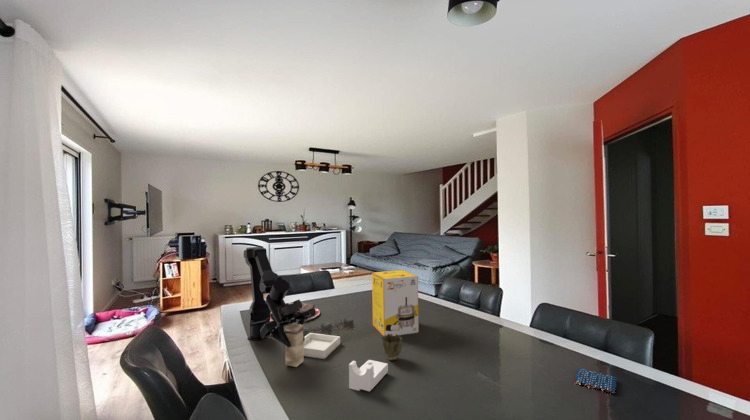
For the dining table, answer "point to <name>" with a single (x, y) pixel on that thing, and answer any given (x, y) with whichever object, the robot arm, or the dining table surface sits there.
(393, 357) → the cup
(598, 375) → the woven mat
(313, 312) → the chocolate cake
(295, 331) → the birch block
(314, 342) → the tray
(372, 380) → the bracket
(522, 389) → the dining table surface
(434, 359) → the dining table surface
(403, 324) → the packaging box
